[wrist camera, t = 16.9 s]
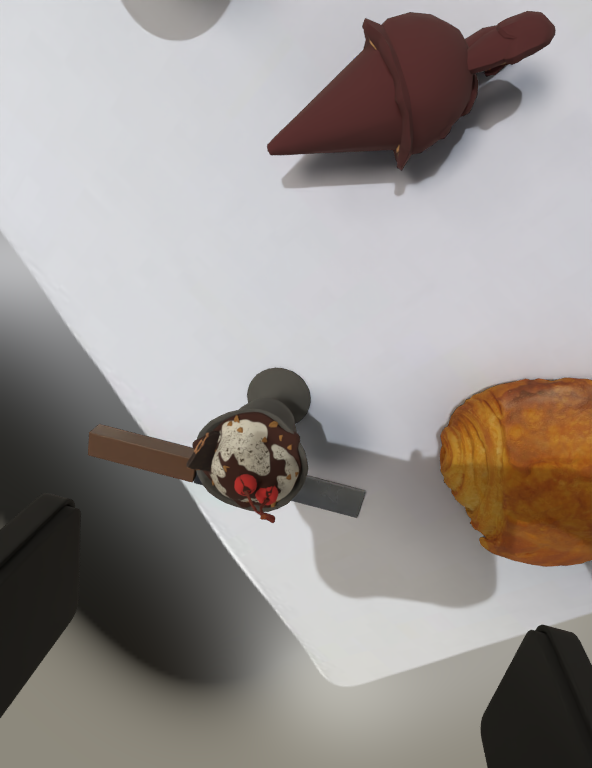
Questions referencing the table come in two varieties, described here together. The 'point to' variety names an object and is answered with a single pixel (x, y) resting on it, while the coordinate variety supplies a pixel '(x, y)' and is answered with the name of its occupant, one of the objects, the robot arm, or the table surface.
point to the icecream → (408, 85)
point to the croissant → (525, 469)
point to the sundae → (256, 446)
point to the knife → (173, 464)
